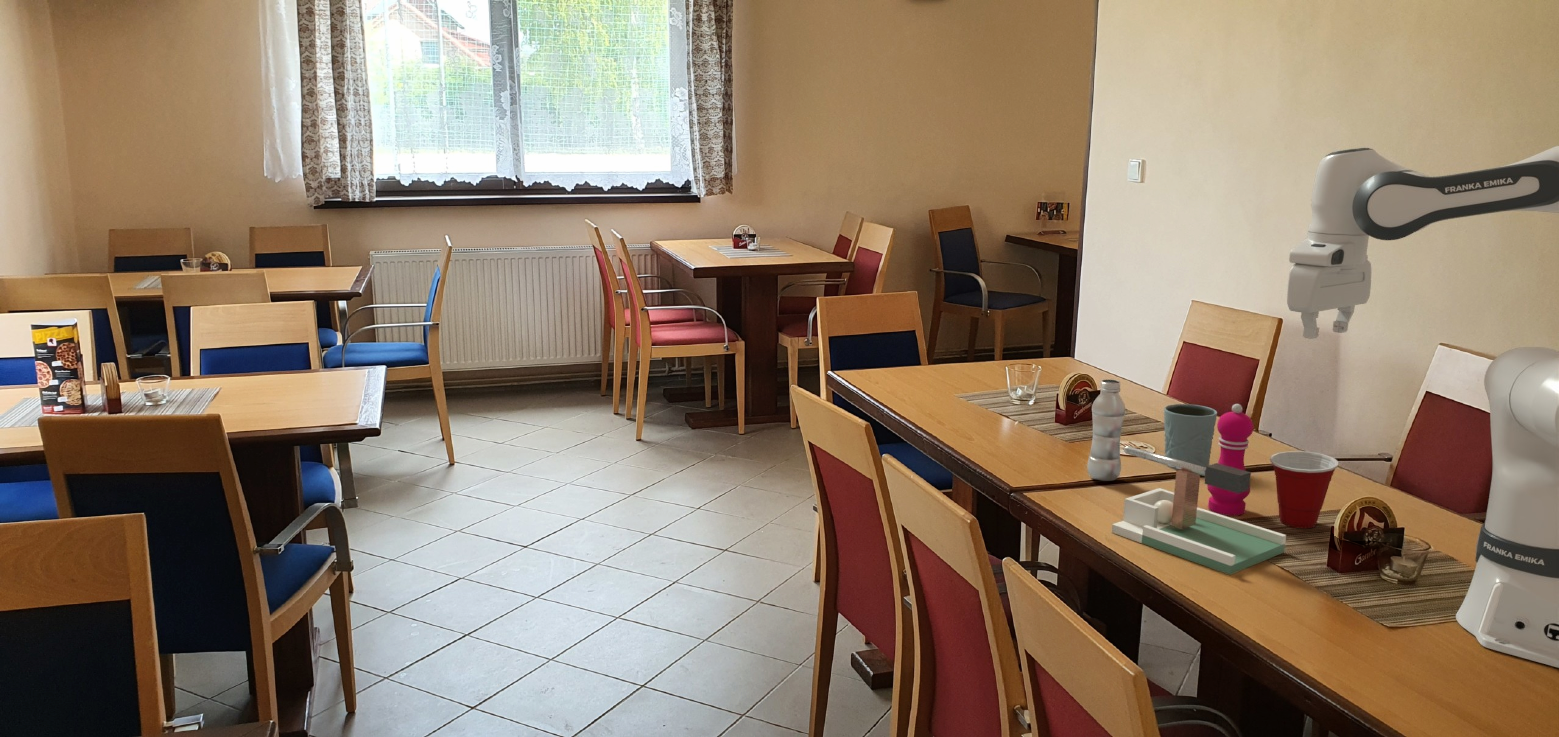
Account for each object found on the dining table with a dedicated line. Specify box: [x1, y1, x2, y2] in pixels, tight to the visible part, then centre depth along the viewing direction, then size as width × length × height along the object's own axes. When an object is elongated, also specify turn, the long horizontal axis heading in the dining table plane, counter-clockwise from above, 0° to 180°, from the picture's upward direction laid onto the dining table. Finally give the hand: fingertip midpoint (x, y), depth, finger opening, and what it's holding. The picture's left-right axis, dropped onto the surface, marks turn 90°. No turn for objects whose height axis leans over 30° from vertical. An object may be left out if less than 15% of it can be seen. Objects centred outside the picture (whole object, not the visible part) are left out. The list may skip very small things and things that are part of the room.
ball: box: [1154, 500, 1173, 523], centre depth 184 cm, size 4×4×4 cm
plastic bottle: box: [1086, 379, 1126, 482], centre depth 210 cm, size 6×7×20 cm
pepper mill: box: [1206, 403, 1254, 516], centre depth 193 cm, size 7×7×20 cm
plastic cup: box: [1269, 450, 1339, 529], centre depth 188 cm, size 11×11×12 cm
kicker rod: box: [1123, 445, 1252, 529], centre depth 181 cm, size 23×4×12 cm, turn 37°
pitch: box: [1111, 487, 1287, 576], centre depth 179 cm, size 22×16×6 cm
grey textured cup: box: [1163, 403, 1218, 471], centre depth 220 cm, size 10×10×12 cm
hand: (1325, 335), depth 175 cm, fingers open, 8 cm apart
